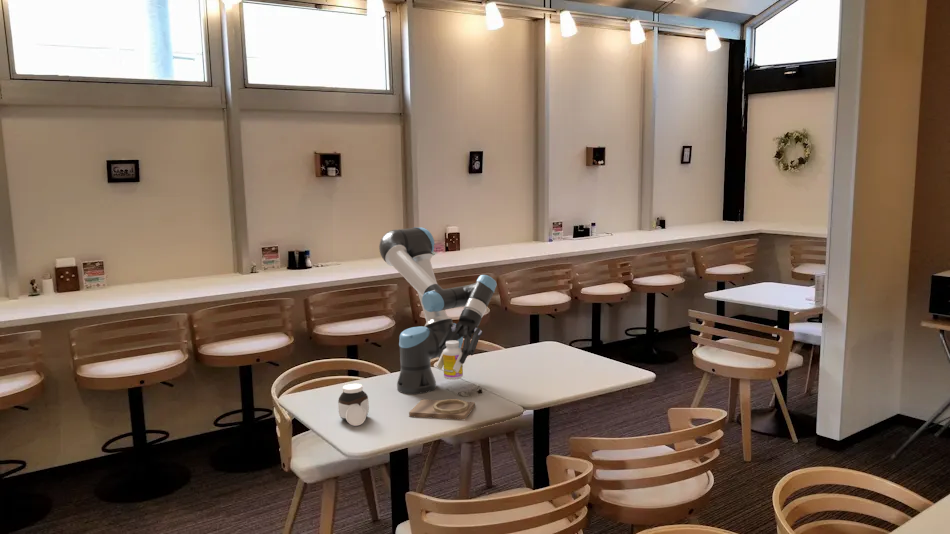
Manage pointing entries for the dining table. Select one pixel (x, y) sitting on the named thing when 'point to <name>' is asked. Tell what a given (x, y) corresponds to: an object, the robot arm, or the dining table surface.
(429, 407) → the seat board
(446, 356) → the supplement bottle
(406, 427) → the dining table surface
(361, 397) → the spread jar
